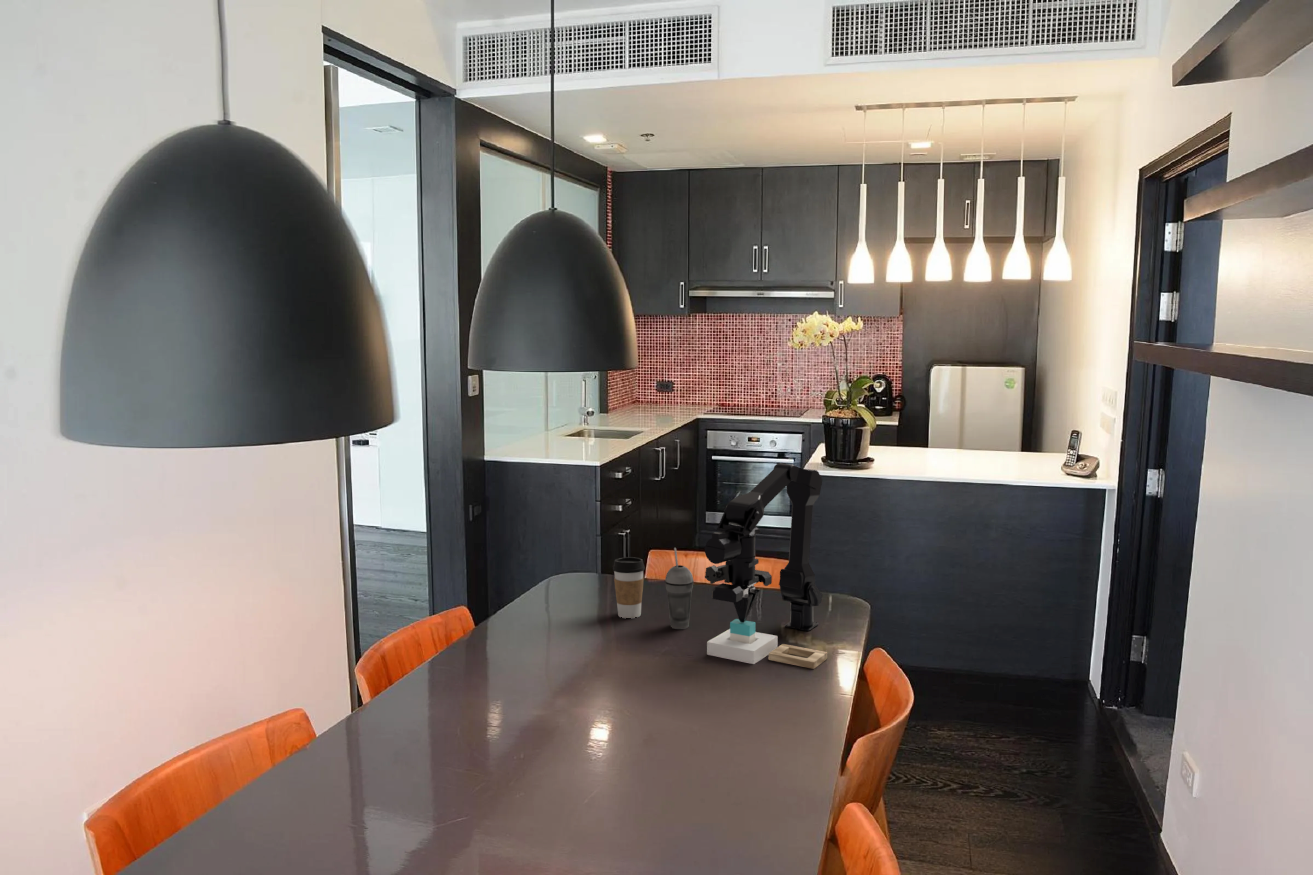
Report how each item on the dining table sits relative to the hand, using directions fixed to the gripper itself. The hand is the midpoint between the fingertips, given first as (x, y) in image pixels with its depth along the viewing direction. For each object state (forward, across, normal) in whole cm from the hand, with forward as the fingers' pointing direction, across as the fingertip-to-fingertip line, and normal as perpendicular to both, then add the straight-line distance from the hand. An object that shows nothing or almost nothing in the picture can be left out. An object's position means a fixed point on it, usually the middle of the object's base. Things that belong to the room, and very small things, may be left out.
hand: (742, 621), depth 216 cm
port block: (+7, 0, 0) cm, 7 cm away
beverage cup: (+7, -8, -22) cm, 25 cm away
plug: (+7, 0, 0) cm, 7 cm away
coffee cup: (+7, -9, -38) cm, 40 cm away
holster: (+7, -2, +13) cm, 15 cm away
